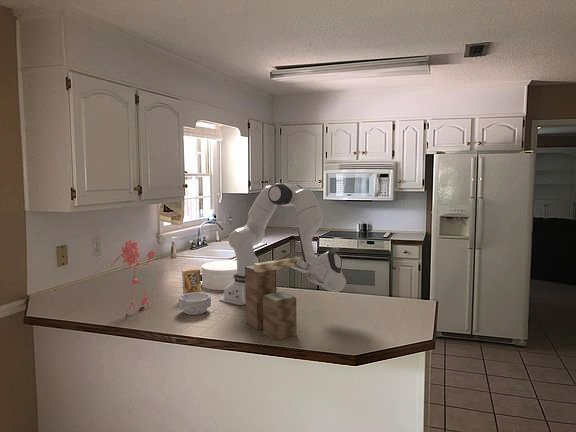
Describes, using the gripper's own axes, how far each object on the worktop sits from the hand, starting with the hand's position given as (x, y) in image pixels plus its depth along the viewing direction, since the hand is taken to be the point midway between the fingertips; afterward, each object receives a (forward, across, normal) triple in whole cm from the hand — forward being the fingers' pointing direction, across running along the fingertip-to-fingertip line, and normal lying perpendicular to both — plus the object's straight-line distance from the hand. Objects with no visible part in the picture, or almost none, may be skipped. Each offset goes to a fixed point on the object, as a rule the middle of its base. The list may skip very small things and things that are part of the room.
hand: (293, 260), depth 198 cm
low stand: (-9, 0, +30) cm, 31 cm away
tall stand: (-9, -15, +30) cm, 35 cm away
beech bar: (+5, 0, +5) cm, 7 cm away
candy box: (-1, -73, +34) cm, 80 cm away
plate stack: (-26, -90, +20) cm, 95 cm away
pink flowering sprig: (+27, -71, +50) cm, 91 cm away
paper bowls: (+6, -49, +38) cm, 63 cm away
